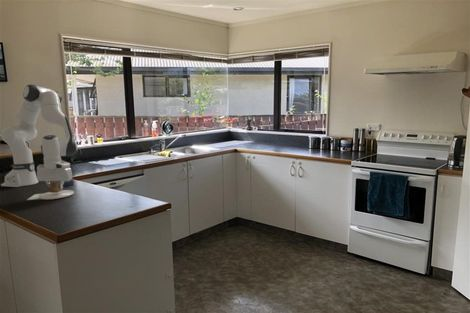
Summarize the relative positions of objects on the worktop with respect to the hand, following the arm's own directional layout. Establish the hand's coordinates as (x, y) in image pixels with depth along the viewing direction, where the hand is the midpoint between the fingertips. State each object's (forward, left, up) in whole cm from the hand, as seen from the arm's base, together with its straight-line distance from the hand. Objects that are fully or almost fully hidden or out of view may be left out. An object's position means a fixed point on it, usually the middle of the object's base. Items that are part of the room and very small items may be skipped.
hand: (55, 188), depth 204 cm
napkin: (-10, -2, -4) cm, 11 cm away
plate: (0, 0, -4) cm, 4 cm away
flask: (-10, +23, -5) cm, 25 cm away
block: (0, 0, -2) cm, 2 cm away
